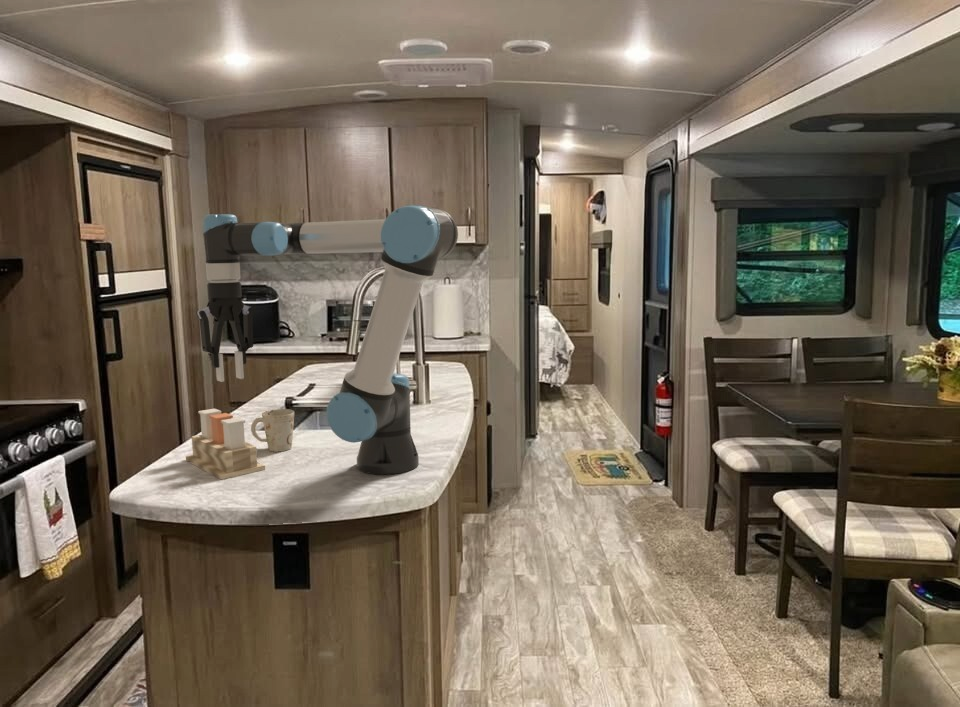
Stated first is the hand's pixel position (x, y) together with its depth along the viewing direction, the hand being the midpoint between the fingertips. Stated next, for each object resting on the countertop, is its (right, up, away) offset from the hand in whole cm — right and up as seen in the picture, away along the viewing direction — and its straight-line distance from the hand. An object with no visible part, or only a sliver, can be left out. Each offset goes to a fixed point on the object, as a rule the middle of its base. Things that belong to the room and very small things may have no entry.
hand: (230, 379), depth 178 cm
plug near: (0, -17, +3) cm, 17 cm away
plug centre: (-4, -17, +8) cm, 19 cm away
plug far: (-9, -16, +13) cm, 22 cm away
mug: (+4, -20, +23) cm, 30 cm away
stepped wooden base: (-4, -22, +9) cm, 24 cm away
